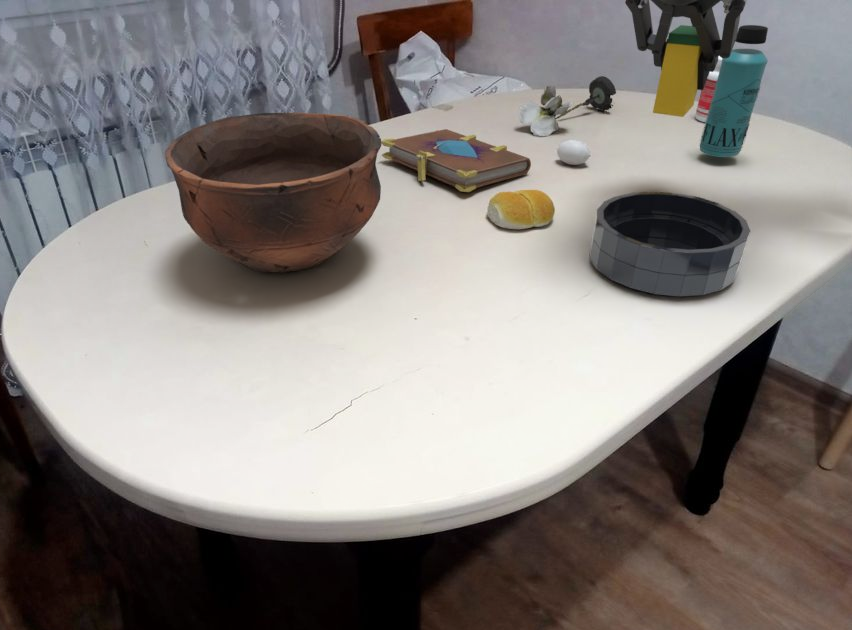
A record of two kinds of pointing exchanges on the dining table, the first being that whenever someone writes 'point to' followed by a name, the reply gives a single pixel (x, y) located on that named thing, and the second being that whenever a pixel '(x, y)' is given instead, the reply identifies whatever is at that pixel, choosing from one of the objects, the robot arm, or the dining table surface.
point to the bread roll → (521, 209)
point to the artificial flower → (563, 106)
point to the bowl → (277, 185)
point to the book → (456, 159)
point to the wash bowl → (668, 243)
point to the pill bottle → (707, 93)
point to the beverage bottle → (735, 95)
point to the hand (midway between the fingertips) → (685, 78)
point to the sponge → (679, 73)
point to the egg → (573, 152)
